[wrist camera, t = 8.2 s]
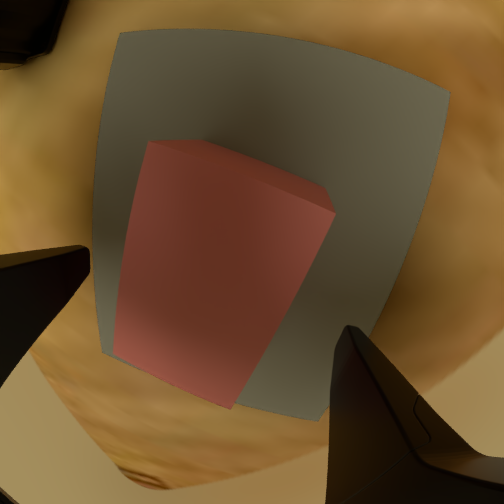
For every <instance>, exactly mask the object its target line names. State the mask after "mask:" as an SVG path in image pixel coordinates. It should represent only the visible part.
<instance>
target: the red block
mask: <svg viewBox="0 0 504 504" xmlns="http://www.w3.org/2000/svg"><path fill="white" fill-rule="evenodd" d="M335 215H336V212H335V210H334V207H333V205H332V202H331V200H330V197H329V195H328V193H327V190H326V188H324V187H322V186H319V185H317V184H315V183H313V182H310V181H308V180H306V179H303V178H301V177H299V176H296V175H294V174H292V173H289V172H287V171H284V170H282V169H280V168H277V167H275V166H272V165H270V164H267V163H264V162H262V161H259V160H257V159H254V158H252V157H249V156H246V155H244V154H241V153H238V152H235V151H233V150H230V149H227V148H224V147H222V146H219V145H216V144H213V143H210V142H207V141H204V140H158V141H148V144H147V148H146V152H145V155H144V159H143V163H142V166H141V170H140V174H139V178H138V183H137V187H136V191H135V195H134V200H133V205H132V209H131V214H130V219H129V224H128V230H127V235H126V241H125V247H124V253H123V259H122V266H121V273H120V280H119V288H118V297H117V306H116V316H115V328H114V343H113V354H114V355H116V356H118V357H120V358H121V359H123V360H125V361H127V362H128V363H130V364H132V365H134V366H136V367H138V368H140V369H141V370H143V371H145V372H147V373H149V374H151V375H153V376H155V377H157V378H159V379H161V380H163V381H165V382H167V383H169V384H171V385H174V386H176V387H178V388H180V389H182V390H184V391H187V392H189V393H191V394H193V395H196V396H198V397H200V398H203V399H205V400H208V401H210V402H212V403H215V404H217V405H220V406H222V407H225V408H228V409H231V408H232V406H233V405H234V403H235V401H236V400H237V398H238V396H239V395H240V393H241V391H242V390H243V388H244V386H245V385H246V383H247V381H248V380H249V378H250V376H251V375H252V373H253V371H254V369H255V368H256V366H257V364H258V363H259V361H260V359H261V357H262V356H263V354H264V352H265V350H266V349H267V347H268V345H269V343H270V341H271V340H272V338H273V336H274V334H275V332H276V331H277V329H278V327H279V325H280V323H281V322H282V320H283V318H284V316H285V314H286V312H287V310H288V309H289V307H290V305H291V303H292V301H293V299H294V297H295V295H296V294H297V292H298V290H299V288H300V286H301V284H302V282H303V280H304V278H305V276H306V274H307V272H308V270H309V268H310V266H311V264H312V262H313V260H314V258H315V256H316V254H317V252H318V250H319V248H320V246H321V244H322V242H323V240H324V238H325V236H326V234H327V232H328V230H329V228H330V226H331V223H332V221H333V219H334V217H335Z"/></svg>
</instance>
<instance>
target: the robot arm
mask: <svg viewBox="0 0 504 504" xmlns="http://www.w3.org/2000/svg"><path fill="white" fill-rule="evenodd" d="M67 2H68V0H0V70H8V69H11V68H14V67H17V66H20V65H23V64H24V63H26V62H27V60H28V59H31V58H34V57H38V56H42V55H46V54H48V53H49V52H50V51H51V49H52V47H53V44H54V40H55V37H56V33H57V30H58V27H59V24H60V21H61V18H62V15H63V12H64V10H65V7H66V4H67ZM89 273H90V251H89V249H88V248H87V247H85V246H82V245H73V246H65V247H57V248H49V249H41V250H33V251H26V252H18V253H11V254H4V255H0V388H1V386H2V385H3V382H5V380H6V379H7V378H8V376H9V375H10V373H11V372H12V371H13V369H14V368H15V367H16V365H17V364H18V363H19V361H20V360H21V359H22V357H23V356H24V355H25V354H26V352H27V351H28V350H29V348H30V347H31V346H32V345H33V343H34V342H35V341H36V340H37V338H38V337H39V336H40V335H41V334H42V332H43V331H44V330H45V329H46V327H47V326H48V325H49V324H50V323H51V322H52V320H53V319H54V318H55V317H56V316H57V315H58V313H59V312H60V311H61V310H62V309H63V308H64V306H65V305H66V304H67V303H68V302H69V300H70V299H71V298H72V296H73V295H74V294H75V292H76V291H77V289H78V288H79V287H80V285H81V284H82V283H83V281H84V280H85V279H86V278H87V276H88V275H89ZM418 394H419V393H418V392H417V391H416V390H415V388H414V387H413V386H412V385H411V384H410V383H409V382H408V381H407V380H406V378H405V377H404V376H403V375H402V374H401V373H400V372H399V371H398V370H397V368H396V367H395V366H394V365H393V364H392V363H391V362H390V361H389V360H388V359H387V357H386V356H385V355H384V354H383V353H382V352H381V351H380V350H379V349H378V348H377V347H376V346H375V344H374V343H373V342H372V341H371V340H370V339H369V338H368V337H367V336H366V335H365V334H364V333H363V331H362V330H361V329H360V328H359V327H356V326H352V325H346V326H345V327H344V329H343V331H342V333H341V335H340V337H339V339H338V341H337V344H336V346H335V350H334V358H333V367H332V376H331V384H330V417H329V453H328V473H327V489H326V500H325V501H326V502H325V504H504V458H500V457H491V456H486V455H483V454H481V453H479V452H477V451H476V450H474V449H473V448H472V447H471V446H470V445H469V444H468V443H466V441H465V440H464V439H463V438H462V437H461V436H459V435H458V434H457V433H456V432H455V431H454V430H453V429H452V428H451V427H450V426H449V425H448V424H447V423H446V422H445V421H444V420H443V419H442V418H441V417H440V416H439V415H438V414H437V413H436V412H435V411H434V410H433V409H432V407H431V406H430V405H429V404H428V403H427V402H426V401H425V400H424V399H423V397H422V396H421V395H418ZM0 504H19V503H18V502H16V501H15V500H14V499H13V498H12V497H11V496H10V495H8V494H7V493H6V492H5V491H4V490H3V489H2V488H1V487H0Z"/></svg>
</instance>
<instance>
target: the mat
mask: <svg viewBox="0 0 504 504" xmlns="http://www.w3.org/2000/svg"><path fill="white" fill-rule="evenodd" d="M449 99H450V92H449V91H447V90H445V89H443V88H441V87H439V86H437V85H435V84H433V83H431V82H429V81H427V80H424V79H422V78H420V77H418V76H415V75H413V74H411V73H408V72H406V71H403V70H401V69H398V68H396V67H393V66H390V65H388V64H385V63H382V62H379V61H377V60H374V59H371V58H368V57H364V56H361V55H358V54H355V53H351V52H348V51H345V50H341V49H337V48H333V47H329V46H325V45H321V44H317V43H313V42H308V41H303V40H298V39H293V38H287V37H281V36H275V35H268V34H261V33H253V32H243V31H232V30H216V29H160V30H144V31H133V32H124V33H120V35H119V38H118V42H117V45H116V49H115V53H114V57H113V61H112V65H111V69H110V73H109V78H108V83H107V87H106V92H105V98H104V103H103V109H102V115H101V121H100V128H99V136H98V144H97V153H96V163H95V175H94V191H93V226H92V235H93V270H94V286H95V298H96V309H97V318H98V326H99V334H100V341H101V347H102V353H104V354H107V355H109V356H111V357H113V358H115V359H117V360H119V361H122V362H124V363H126V364H128V365H130V366H133V367H135V368H137V369H140V368H138V367H136V366H134V365H132V364H130V363H128V362H127V361H125V360H123V359H121V358H120V357H118V356H116V355H114V354H113V343H114V328H115V316H116V306H117V297H118V288H119V280H120V273H121V266H122V259H123V253H124V247H125V241H126V235H127V230H128V224H129V219H130V214H131V209H132V205H133V200H134V195H135V191H136V187H137V183H138V178H139V174H140V170H141V166H142V163H143V159H144V155H145V152H146V148H147V144H148V141H158V140H204V141H207V142H210V143H213V144H216V145H219V146H222V147H224V148H227V149H230V150H233V151H235V152H238V153H241V154H244V155H246V156H249V157H252V158H254V159H257V160H259V161H262V162H264V163H267V164H270V165H272V166H275V167H277V168H280V169H282V170H284V171H287V172H289V173H292V174H294V175H296V176H299V177H301V178H303V179H306V180H308V181H310V182H313V183H315V184H317V185H319V186H322V187H324V188H326V190H327V193H328V195H329V197H330V200H331V202H332V205H333V207H334V210H335V212H336V215H335V217H334V219H333V221H332V223H331V226H330V228H329V230H328V232H327V234H326V236H325V238H324V240H323V242H322V244H321V246H320V248H319V250H318V252H317V254H316V256H315V258H314V260H313V262H312V264H311V266H310V268H309V270H308V272H307V274H306V276H305V278H304V280H303V282H302V284H301V286H300V288H299V290H298V292H297V294H296V295H295V297H294V299H293V301H292V303H291V305H290V307H289V309H288V310H287V312H286V314H285V316H284V318H283V320H282V322H281V323H280V325H279V327H278V329H277V331H276V332H275V334H274V336H273V338H272V340H271V341H270V343H269V345H268V347H267V349H266V350H265V352H264V354H263V356H262V357H261V359H260V361H259V363H258V364H257V366H256V368H255V369H254V371H253V373H252V375H251V376H250V378H249V380H248V381H247V383H246V385H245V386H244V388H243V390H242V391H241V393H240V395H239V396H238V398H237V400H236V401H235V403H237V404H241V405H244V406H248V407H252V408H256V409H260V410H264V411H268V412H272V413H277V414H281V415H286V416H291V417H296V418H301V419H306V420H312V421H317V422H318V421H319V419H320V418H321V416H322V415H323V413H324V412H325V410H326V409H327V407H328V406H329V404H330V384H331V376H332V367H333V358H334V350H335V346H336V344H337V341H338V339H339V337H340V335H341V333H342V331H343V329H344V327H345V326H346V325H352V326H356V327H359V328H360V329H361V330H362V331H363V333H364V334H365V335H366V336H367V337H368V338H369V336H370V334H371V332H372V330H373V328H374V326H375V324H376V322H377V320H378V318H379V316H380V314H381V312H382V310H383V308H384V305H385V303H386V301H387V299H388V297H389V295H390V292H391V290H392V288H393V286H394V283H395V281H396V279H397V276H398V274H399V272H400V269H401V267H402V264H403V262H404V259H405V257H406V254H407V252H408V249H409V247H410V244H411V241H412V239H413V236H414V233H415V230H416V228H417V225H418V222H419V219H420V216H421V213H422V210H423V207H424V204H425V200H426V197H427V194H428V191H429V187H430V184H431V180H432V177H433V173H434V169H435V166H436V162H437V158H438V154H439V150H440V145H441V141H442V136H443V132H444V127H445V122H446V116H447V111H448V105H449ZM140 370H141V369H140ZM142 371H143V370H142Z"/></svg>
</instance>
